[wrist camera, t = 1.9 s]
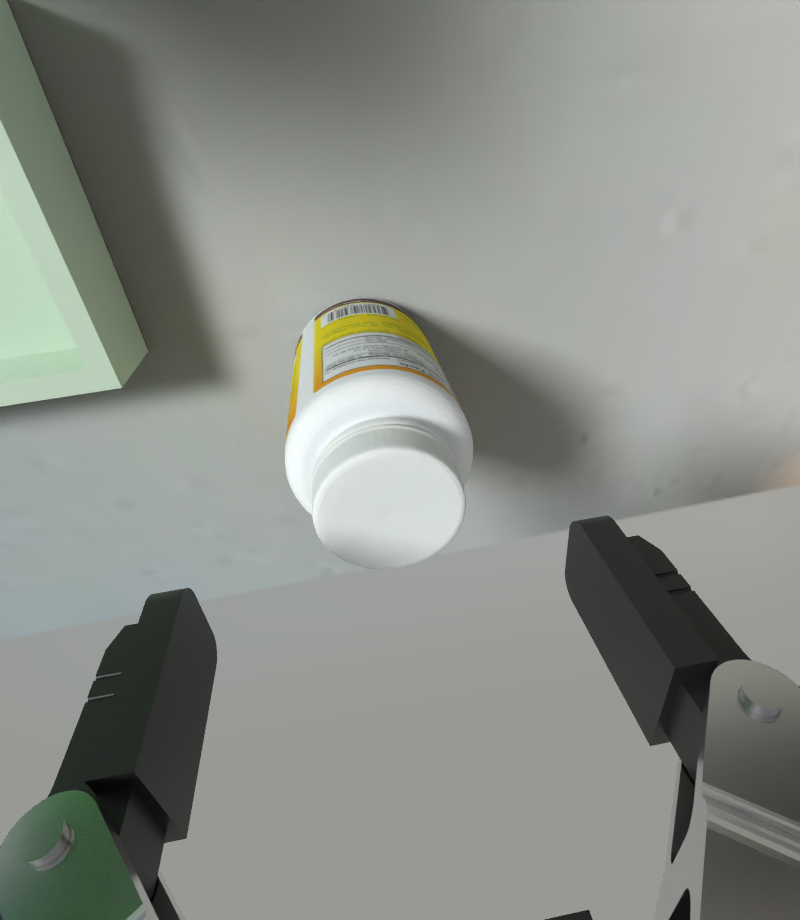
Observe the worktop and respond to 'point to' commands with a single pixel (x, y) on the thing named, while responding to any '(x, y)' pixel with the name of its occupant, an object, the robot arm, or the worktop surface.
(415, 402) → the supplement bottle
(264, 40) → the worktop surface
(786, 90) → the worktop surface
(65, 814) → the robot arm
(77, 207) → the tray
